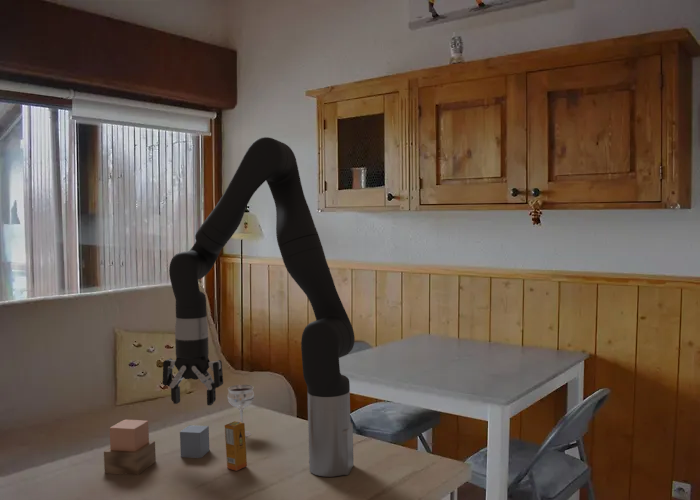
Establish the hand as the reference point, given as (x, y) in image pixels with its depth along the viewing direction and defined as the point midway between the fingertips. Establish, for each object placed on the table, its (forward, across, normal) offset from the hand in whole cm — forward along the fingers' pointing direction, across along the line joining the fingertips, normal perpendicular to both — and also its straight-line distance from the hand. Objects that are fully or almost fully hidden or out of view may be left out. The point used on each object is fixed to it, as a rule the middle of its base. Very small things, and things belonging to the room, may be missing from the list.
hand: (193, 403), depth 155 cm
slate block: (+12, 0, 0) cm, 12 cm away
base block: (+12, +11, +10) cm, 19 cm away
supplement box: (+12, -13, +7) cm, 19 cm away
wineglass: (+12, -6, -15) cm, 20 cm away
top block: (+7, +11, +10) cm, 16 cm away
